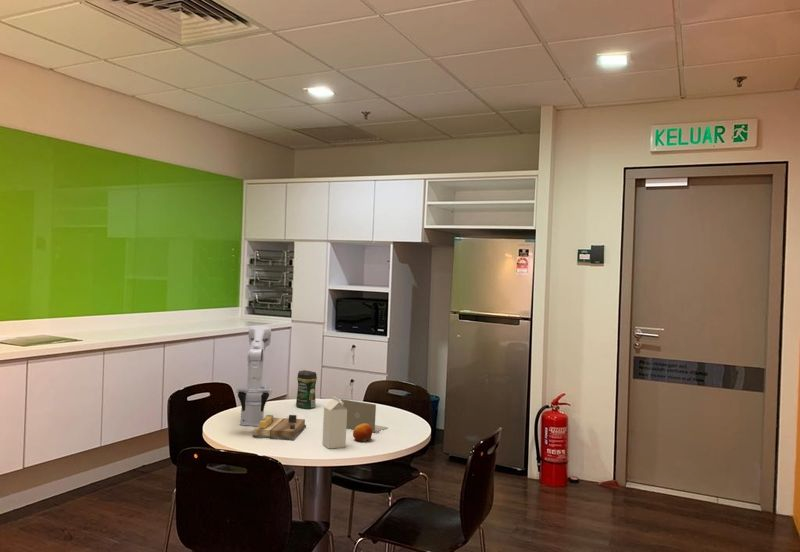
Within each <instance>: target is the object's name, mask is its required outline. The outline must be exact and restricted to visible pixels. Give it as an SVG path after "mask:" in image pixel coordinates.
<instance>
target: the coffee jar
mask: <svg viewBox="0 0 800 552" xmlns="http://www.w3.org/2000/svg"><path fill="white" fill-rule="evenodd" d="M317 378H318V377H317V373H316V372H315V371H311V370H305V369H304V370H303V369H302V370H299V371H298V373H297V378H296V379H297V393H296V402H295V406H296V407H297V408H300V409H304V410H305V409H306V410H308V409H309V410H311V409H312V410H313V409H315V407H316V384H317V381H318V379H317Z"/></svg>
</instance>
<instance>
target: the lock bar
mask: <svg viewBox="0 0 800 552" xmlns="http://www.w3.org/2000/svg"><path fill="white" fill-rule="evenodd" d="M273 418H274V415H273V414H267V415H265V416H264V417H263V419H262V420H261V421H260V425H259V428H266V427H267V426H268V425H269V424H270V423H271V422H273Z"/></svg>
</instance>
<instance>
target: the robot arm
mask: <svg viewBox="0 0 800 552" xmlns="http://www.w3.org/2000/svg"><path fill="white" fill-rule="evenodd" d="M271 337H272V326H271V325H249V327H248V343H249V346H250V347H249V349H248V350H247V357H246V359H247V381H246V382H247V383H246V385H245V387H236V388H235V393H236V394H237V397H238V400H239V402H240V405H241V409H240V424H239V425H240V426H247V427H248V426H249V427H250V426H251V427H252V426H253V427H258V426H259V425H260V421H261V420H262V419H264V414H265V413H264V410H265V407H266V406H265V405H266V404H267V402H268V398H269V397H270V395H271V394H272V393H273V389H272V388H268V385H267V384H266V383H265V382H264V381H263V374H264V373H263V372H264V371H263V369H264V360H265V351H266V348H267V347H268V346H270V344H271Z"/></svg>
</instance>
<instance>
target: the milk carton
mask: <svg viewBox="0 0 800 552" xmlns="http://www.w3.org/2000/svg"><path fill="white" fill-rule="evenodd" d="M343 404H344V403H343V402H342V401H341V399H339V398H337V397H336V396H334V395H332V399H331V400H329V401H328V402H327V403H326V404H325V405H324V406H323V423H322V424H323V425H322V442H321V443H322V445H323V446H324V447H325V448H327V449H338V448H339V449H340V448H346V443H347V442H346V441H347V429H346V425H347V409H346V408H345V407H344V406H343Z"/></svg>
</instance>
